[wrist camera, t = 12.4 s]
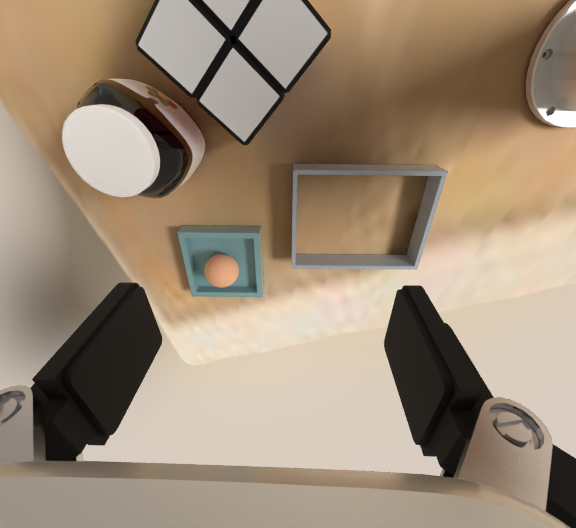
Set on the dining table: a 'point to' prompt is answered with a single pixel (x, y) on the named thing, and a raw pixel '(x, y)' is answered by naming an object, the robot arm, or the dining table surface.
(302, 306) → the dining table surface
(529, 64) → the robot arm
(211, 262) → the ball
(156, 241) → the dining table surface
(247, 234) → the dish
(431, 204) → the grey hollow rectangular frame
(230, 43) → the puzzle cube
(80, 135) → the spread jar
